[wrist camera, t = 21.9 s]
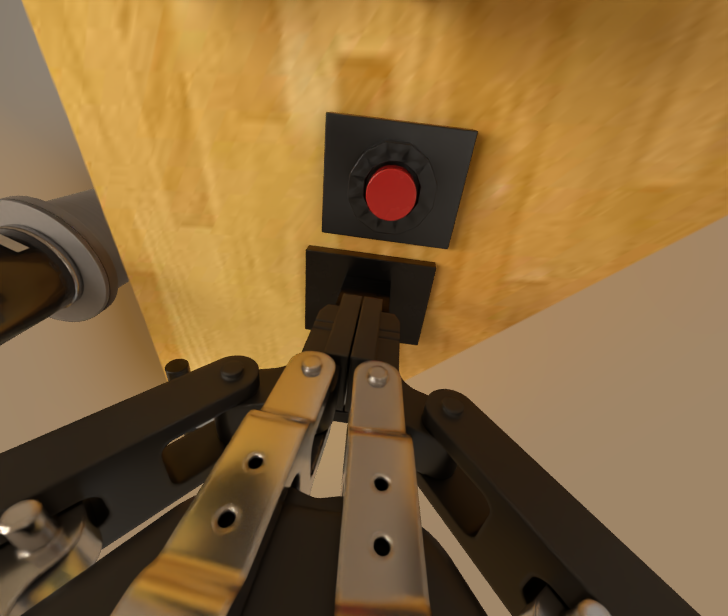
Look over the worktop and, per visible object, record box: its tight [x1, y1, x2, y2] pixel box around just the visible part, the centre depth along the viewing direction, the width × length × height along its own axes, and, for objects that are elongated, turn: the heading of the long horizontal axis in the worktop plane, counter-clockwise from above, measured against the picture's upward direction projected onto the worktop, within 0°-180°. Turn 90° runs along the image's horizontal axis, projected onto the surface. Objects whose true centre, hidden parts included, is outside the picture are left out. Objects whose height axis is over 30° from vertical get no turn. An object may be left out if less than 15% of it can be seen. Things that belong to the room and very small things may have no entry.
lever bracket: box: [305, 245, 436, 423], centre depth 27 cm, size 12×9×14 cm
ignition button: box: [366, 165, 417, 221], centre depth 24 cm, size 4×4×2 cm
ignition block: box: [322, 112, 478, 249], centre depth 26 cm, size 11×9×4 cm
